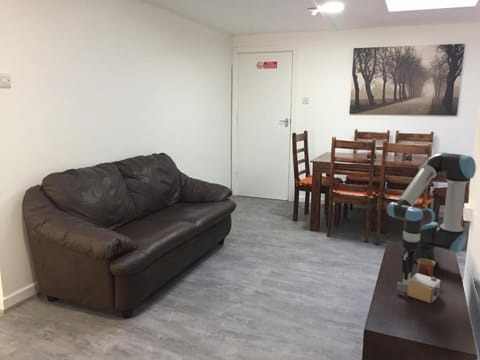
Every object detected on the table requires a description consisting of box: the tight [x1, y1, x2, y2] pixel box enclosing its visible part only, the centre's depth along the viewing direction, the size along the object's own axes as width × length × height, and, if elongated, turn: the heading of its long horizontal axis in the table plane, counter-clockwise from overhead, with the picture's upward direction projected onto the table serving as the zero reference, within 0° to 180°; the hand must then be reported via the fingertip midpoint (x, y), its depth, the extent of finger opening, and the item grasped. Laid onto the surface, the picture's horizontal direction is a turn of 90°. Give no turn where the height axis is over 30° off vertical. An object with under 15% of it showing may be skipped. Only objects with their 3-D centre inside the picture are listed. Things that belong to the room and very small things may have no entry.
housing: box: [409, 272, 442, 302], centre depth 190 cm, size 10×12×9 cm
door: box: [396, 281, 434, 304], centre depth 188 cm, size 1×16×8 cm, turn 47°
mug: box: [416, 259, 436, 277], centre depth 205 cm, size 12×9×10 cm
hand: (405, 284), depth 197 cm, fingers closed
